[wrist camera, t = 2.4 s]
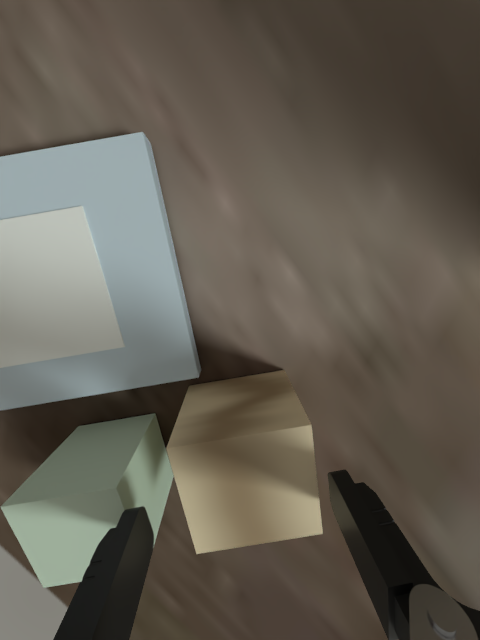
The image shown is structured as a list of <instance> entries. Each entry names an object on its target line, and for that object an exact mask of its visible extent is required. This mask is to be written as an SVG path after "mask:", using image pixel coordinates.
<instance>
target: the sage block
mask: <svg viewBox="0 0 480 640" xmlns="http://www.w3.org/2000/svg"><path fill="white" fill-rule="evenodd" d="M172 480H173V472H172V469H171V465H170V462H169V458H168V455H167V452H166V448H165V445H164V441H163V438H162V434H161V431H160V427H159V424H158V421H157V417H156V414H155V413H154V414H148V415H142V416H136V417H130V418H124V419H118V420H112V421H106V422H100V423H95V424H89V425H83V426H78V427H77V428H76V429H75V430H74V431H73V432H72V433H71V434H70V435H69V437H68V438H67V439H66V440H65V441H64V442H63V443H62V444H61V445H60V446H59V447H58V448H57V449H56V450H55V451H54V452H53V453H52V454H51V455H50V456H49V457H48V458H47V459H46V460H45V461H44V462H43V463H42V465H41V466H40V467H39V468H38V469H37V470H36V471H35V472H34V473H33V474H32V475H31V476H30V477H29V478H28V479H27V480H26V481H25V482H24V483H23V484H22V485H21V486H20V487H19V488H18V489H17V490H16V491H15V492H14V494H13V495H12V496H11V497H10V498H9V499H8V500H7V501H6V502H5V503H4V504H3V505H2V506H1V509H2V511H3V513H4V515H5V516H6V518H7V520H8V522H9V524H10V526H11V528H12V530H13V531H14V533H15V535H16V537H17V539H18V541H19V543H20V545H21V546H22V548H23V550H24V552H25V554H26V556H27V558H28V560H29V561H30V563H31V565H32V567H33V569H34V571H35V573H36V575H37V576H38V578H39V580H40V582H41V584H42V586H43V588H45V587H51V586H57V585H63V584H69V583H76V582H82V578H83V576H84V573H85V571H86V569H87V567H88V566H89V565H90V561H91V559H92V556H93V554H94V552H95V550H96V548H97V546H98V544H99V543H100V541H101V540H102V539H103V537H104V536H105V535H106V533H107V532H108V531H109V529H111V528H116V526H117V524H118V522H119V519H120V517H121V515H122V513H123V512H124V510H126V509H131V508H136V507H141V506H144V507H145V509H146V511H147V514H148V517H149V520H150V523H151V526H152V529H153V533H154V544H155V540H156V537H157V533H158V530H159V526H160V522H161V519H162V515H163V512H164V508H165V505H166V501H167V498H168V494H169V490H170V487H171V483H172ZM153 547H154V546H153Z"/></svg>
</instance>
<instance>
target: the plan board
mask: <svg viewBox="0 0 480 640" xmlns="http://www.w3.org/2000/svg"><path fill="white" fill-rule="evenodd" d="M200 372H201V366H200V362H199V357H198V353H197V349H196V344H195V340H194V335H193V331H192V326H191V322H190V317H189V313H188V308H187V304H186V299H185V295H184V290H183V286H182V281H181V277H180V272H179V268H178V263H177V259H176V254H175V250H174V246H173V241H172V237H171V232H170V228H169V223H168V219H167V214H166V210H165V205H164V201H163V196H162V192H161V187H160V183H159V178H158V174H157V169H156V165H155V160H154V156H153V151H152V147H151V143H150V142H149V140H148V139H147V137H146V136H145V134H144V133H143V132H139V133H133V134H128V135H122V136H116V137H110V138H105V139H99V140H93V141H87V142H82V143H76V144H70V145H65V146H59V147H53V148H47V149H42V150H36V151H30V152H25V153H19V154H13V155H7V156H2V157H0V411H1V410H7V409H13V408H19V407H25V406H31V405H37V404H43V403H49V402H55V401H61V400H67V399H73V398H79V397H85V396H91V395H97V394H103V393H109V392H115V391H121V390H127V389H133V388H139V387H145V386H151V385H157V384H163V383H169V382H175V381H181V380H187V379H193V378H199V375H200Z"/></svg>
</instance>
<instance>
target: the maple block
mask: <svg viewBox="0 0 480 640" xmlns="http://www.w3.org/2000/svg"><path fill="white" fill-rule="evenodd" d="M166 450H167V453H168V457H169V460H170V464H171V467H172V471H173V474H174V477H175V481H176V484H177V488H178V491H179V495H180V498H181V502H182V505H183V509H184V512H185V516H186V519H187V523H188V526H189V530H190V533H191V536H192V540H193V543H194V547H195V550H196V554H199V553H206V552H212V551H218V550H224V549H231V548H237V547H243V546H249V545H256V544H262V543H268V542H274V541H281V540H287V539H293V538H299V537H306V536H312V535H318V534H323V532H322V522H321V512H320V503H319V493H318V484H317V474H316V464H315V455H314V445H313V435H312V426H311V423H310V421H309V419H308V417H307V415H306V413H305V411H304V409H303V407H302V405H301V403H300V401H299V399H298V397H297V395H296V393H295V391H294V389H293V387H292V385H291V383H290V381H289V379H288V377H287V375H286V373H285V371H284V370H281V371H275V372H269V373H263V374H257V375H251V376H244V377H238V378H232V379H226V380H220V381H214V382H208V383H202V384H196V385H190V386H189V387H188V390H187V393H186V395H185V398H184V401H183V404H182V406H181V409H180V412H179V415H178V417H177V420H176V423H175V426H174V428H173V431H172V434H171V437H170V439H169V442H168V445H167V448H166Z"/></svg>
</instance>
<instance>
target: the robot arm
mask: <svg viewBox="0 0 480 640" xmlns="http://www.w3.org/2000/svg"><path fill="white" fill-rule="evenodd" d="M328 481H329V491H330V501H331V505H332V509H333V512H334V515H335V517H336V520H337V522H338V524H339V527H340V529H341V531H342V534H343V536H344V538H345V541H346V543H347V545H348V547H349V550H350V552H351V554H352V557H353V559H354V561H355V564H356V566H357V568H358V571H359V573H360V575H361V577H362V580H363V582H364V584H365V587H366V589H367V591H368V594H369V596H370V598H371V601H372V603H373V605H374V607H375V610H376V612H377V614H378V617H379V619H380V621H381V624H382V626H383V628H384V631H385V633H386V635H387V638H388V640H396V639H399V640H480V611H478V610H475V609H472V608H469V607H467V606H465V605H463V604H461V603H459V602H458V601H456V600H455V599H453V598H452V597H450V596H449V595H448V594H447V593H446V592H444V591H443V590H442V589H441V588H440V587H439V586H438V584H437V583H436V582H435V581H434V580H433V578H432V577H431V576H430V574H429V573H428V571H427V570H426V568H425V567H424V565H423V564H422V562H421V561H420V559H419V558H418V556H417V555H416V553H415V552H414V550H413V549H412V547H411V546H410V544H409V542H408V541H407V539H406V538H405V536H404V535H403V533H402V532H401V530H400V529H399V527H398V526H397V524H395V522H394V520H393V518H392V517H391V515H390V514H389V512H388V511H387V510H386V508H385V506H384V505H383V503H382V502H381V500H380V499H379V497H378V496H377V494H376V493H375V492H374V491H373V490H372V489H370V488H369V487H368V486H367V485H366V484H365V483H364V482H362V483H357V484H355V483H354V482H353V480H352V478H351V477H350V475H349V473H348V472H347V471H346V470H340V471H334V472H329V473H328ZM153 546H154V533H153V529H152V526H151V523H150V520H149V517H148V514H147V511H146V509H145V507H144V506H141V507H136V508H131V509H126V510H124V512H123V513H122V515H121V517H120V519H119V522H118V524H117V526H116V528H111V529H109V531H108V532H107V533H106V535H105V536H104V537H103V539H102V540H101V541H100V543H99V544H98V546H97V548H96V550H95V552H94V554H93V556H92V559H91V561H90V565H89V566H88V567H87V569H86V571H85V573H84V576H83V578H82V582H80V584H79V586H78V588H77V590H76V593H75V595H74V597H73V599H72V601H71V603H70V605H69V607H68V610H67V612H66V614H65V616H64V618H63V620H62V623H61V625H60V627H59V629H58V631H57V633H56V635H55V637H54V640H129V638H130V634H131V630H132V627H133V623H134V619H135V615H136V612H137V608H138V604H139V600H140V597H141V593H142V589H143V585H144V582H145V578H146V574H147V570H148V567H149V563H150V559H151V555H152V551H153Z"/></svg>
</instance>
